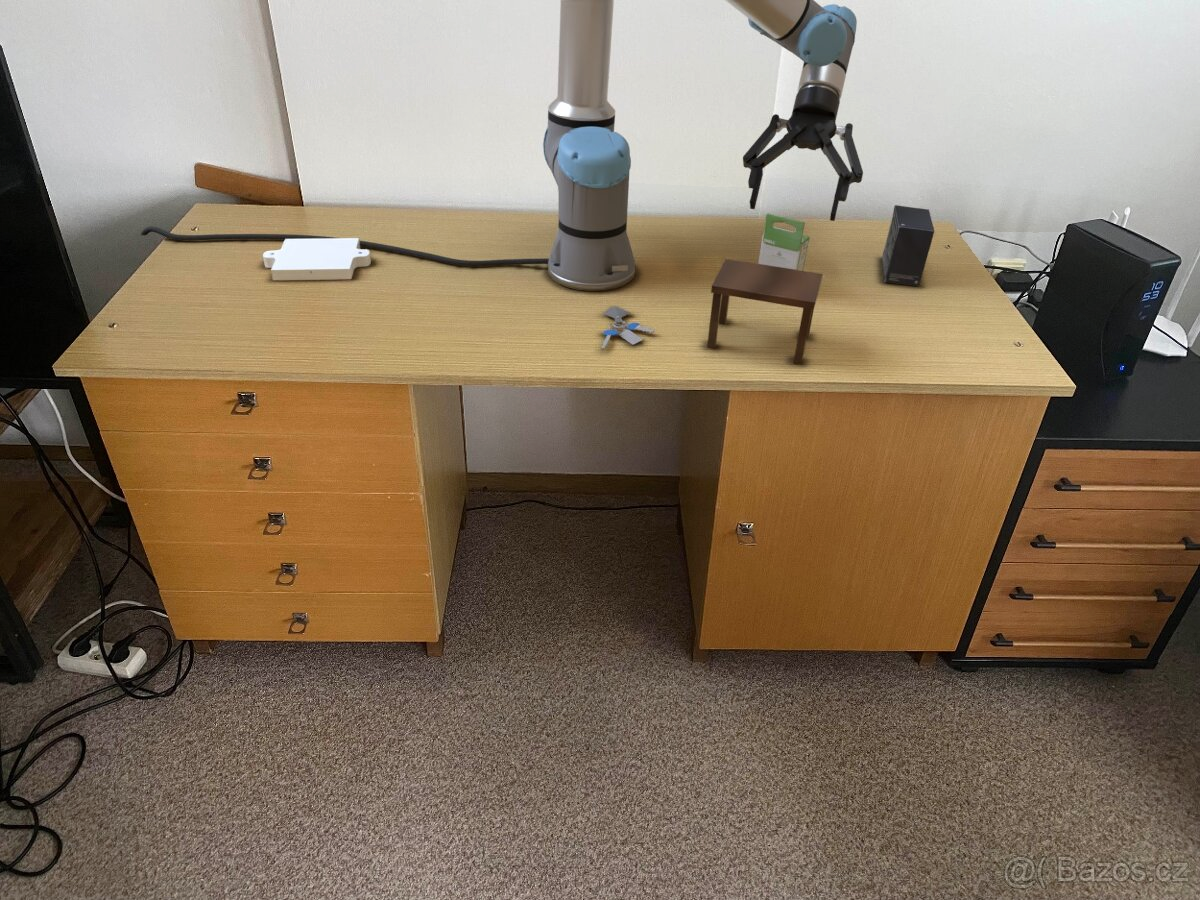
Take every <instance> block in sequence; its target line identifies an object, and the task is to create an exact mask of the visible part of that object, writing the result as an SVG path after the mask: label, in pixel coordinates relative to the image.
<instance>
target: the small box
mask: <svg viewBox="0 0 1200 900" xmlns="http://www.w3.org/2000/svg"><path fill="white" fill-rule="evenodd" d="M934 234H935V227H934V223H933V220H932V216H931V211H930V209H927V208H919V207H911V206H904V205H897V204H895V205H894V207H893V212H892V216H891V221H890V225H889V228H888V233H887V236H886V242H885V244H884V247H883V250H882V251H883V252H882V255H881V258H880V259H881V269H882V277H883V282H884V283H890V284H896V285H897V284H899V285H906V286H915V287H919V286H920V285H921V284H920V283H921V280H922V277H923V274H924V270H925V267H926V263H927V259H928V255H929V253H930V249H931V245H932V241H933V237H934Z"/></svg>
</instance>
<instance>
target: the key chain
mask: <svg viewBox="0 0 1200 900" xmlns="http://www.w3.org/2000/svg"><path fill="white" fill-rule="evenodd" d="M629 314H631V312H630V311H629V310H626V309H623V308H621V307H619V306H612V307H610V308H609V309H607V310H605V311H604V312H602V315H605V316H607V317H610V318H612V319H613V320H614V322H612V323H609V324H608V326H607V327H608V329H606V330H604V331H602V335H603V336H606V337H605V339H604V341H603V343H602V345H601V350H602V349H603V350H604V349H605V348H606V347H607V345H608V343H609V341H610V340H611V339H610V338H611V337H616V336H617V335H618V336H619V337H620V338H622V339H624V340H625V341H626V342H628V343H629V344H631V345H632V346H634V345H636V344H637V343H640V342H642V341H643V340H644V339H643V338H642V337H640V336H639V335H637V334H636V333H634V332H633V331H641V332H646V333H649V334H651V333H652V334H653V333H655V330H656V329H652V328H649V327H645V326H641V323H639V322H630V323H628V322H626V321H624V320H623V318H624V317H626V316H627V315H629ZM611 325H612V326H613V328H615V329H613V328H612V329H611V327H610V326H611ZM618 329H619V330H620V329H621V330H622V331H619V330H618Z"/></svg>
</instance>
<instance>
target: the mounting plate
mask: <svg viewBox="0 0 1200 900" xmlns="http://www.w3.org/2000/svg"><path fill="white" fill-rule="evenodd" d="M359 240H360V238H359V237H336V238H319V239H285V240H283V243H282V245H281V248H279V249H274V250H273V249H272V250H266V251H264V253H262V259H263V264H264V267H265V268H266V269H270V273H271V277H272V281H322V280H323V281H324V280H325V281H327V280H328V281H329V280H352V278H353V275H354V271H355V269H356V268H361V267H362V268H364V267H369V266H371V262H372V259H371V252H370V250H369V249H367V248H365V249H364V248H363V249H361V246H360V241H361V240H360V241H359Z"/></svg>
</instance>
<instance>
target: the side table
mask: <svg viewBox="0 0 1200 900" xmlns="http://www.w3.org/2000/svg"><path fill="white" fill-rule="evenodd" d="M823 275H824V274H823V273H819V272H813V271H807V270H803V271H801V270H795V269H788V268H782V267H775V266H769V265H763V264H758V263H756V262H751V261H750V262H749V261H743V260H736V259H729V258H724V260H723V262H722V264H721V266H720V268H719V269H718V272H717V274H716V276H715V278H714V280H713V282H712V284H711V288H710V293H711V294H712V300H711V310H710V318H709V327H708V336H707V343H706V345H707V346H706V348H707V349H708V348H709V349H714V350H715V349H716V346H717V343H718V342H717V341H718V333H719V324H720V325H726V323H727V320H728V312H729V306H730V297H735V298H740V299H746V300H752V301H759V302H766V303H770V304H777V305H782V306H787V307H788V306H789V307H796V308H801V309H802V314H801V317H800V323H799V329H798V334H797V335H798V336H797V341H796V345H795V351H794V356H793V362H792V363H793V364H798V365H801V364H802V363H803V358H804V353H805V348H806V342H807V339H809V336H810V332H811V326H812V322H813V316H814V312H815V311H814V310H815V307H816V303H817V299H818V295H819V292H820V288H821V285H822V280H823Z"/></svg>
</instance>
